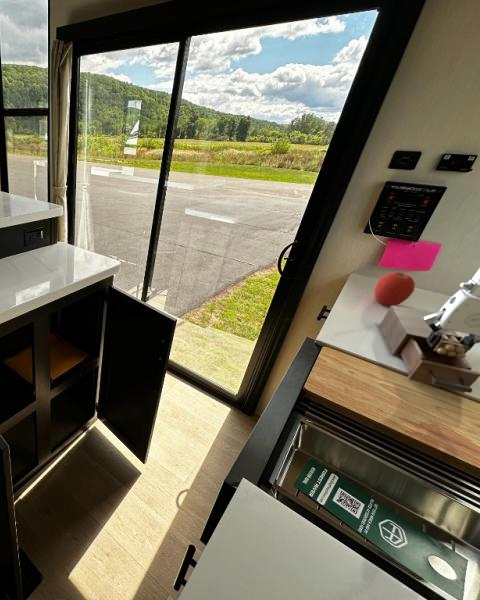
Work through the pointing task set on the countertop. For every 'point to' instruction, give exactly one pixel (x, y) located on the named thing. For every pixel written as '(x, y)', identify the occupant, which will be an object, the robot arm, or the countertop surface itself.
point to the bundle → (451, 346)
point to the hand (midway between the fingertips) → (445, 347)
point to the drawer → (436, 366)
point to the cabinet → (405, 327)
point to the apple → (394, 289)
